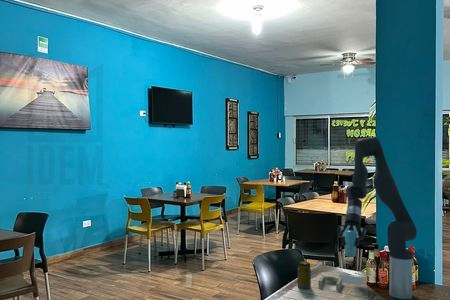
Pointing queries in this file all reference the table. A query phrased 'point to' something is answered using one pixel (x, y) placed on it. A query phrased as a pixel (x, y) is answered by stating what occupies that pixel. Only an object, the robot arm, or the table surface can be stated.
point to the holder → (330, 283)
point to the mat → (351, 279)
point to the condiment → (304, 275)
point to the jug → (350, 243)
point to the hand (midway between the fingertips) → (349, 245)
